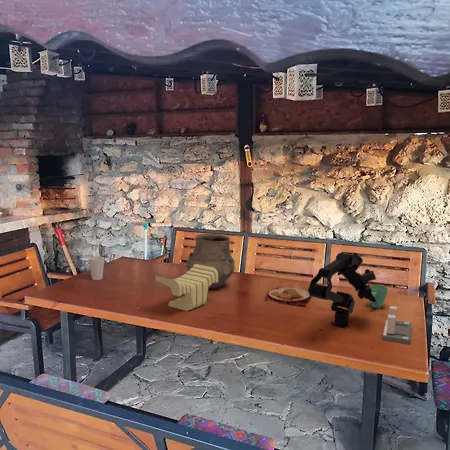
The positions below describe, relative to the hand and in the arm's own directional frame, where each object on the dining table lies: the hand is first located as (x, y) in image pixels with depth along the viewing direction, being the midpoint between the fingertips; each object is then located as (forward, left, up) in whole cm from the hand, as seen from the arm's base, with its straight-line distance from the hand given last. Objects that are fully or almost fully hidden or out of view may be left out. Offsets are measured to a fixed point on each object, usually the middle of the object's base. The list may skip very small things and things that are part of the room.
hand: (375, 301), depth 209 cm
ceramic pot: (-19, +96, -11) cm, 98 cm away
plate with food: (+1, +53, -12) cm, 54 cm away
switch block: (-2, -12, -11) cm, 16 cm away
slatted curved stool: (-50, +77, -11) cm, 92 cm away
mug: (+20, +12, -11) cm, 26 cm away
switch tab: (+3, -7, -9) cm, 12 cm away
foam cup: (-63, +154, -11) cm, 166 cm away
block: (-8, -12, -9) cm, 17 cm away
